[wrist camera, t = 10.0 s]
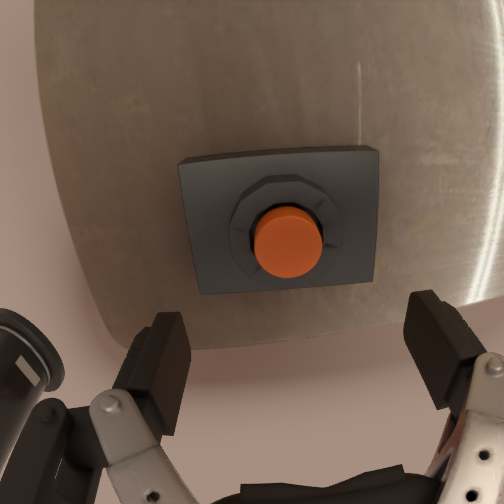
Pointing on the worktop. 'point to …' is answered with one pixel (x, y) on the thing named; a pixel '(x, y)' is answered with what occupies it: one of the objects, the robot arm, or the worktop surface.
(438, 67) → the worktop surface
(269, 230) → the button
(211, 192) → the button box
